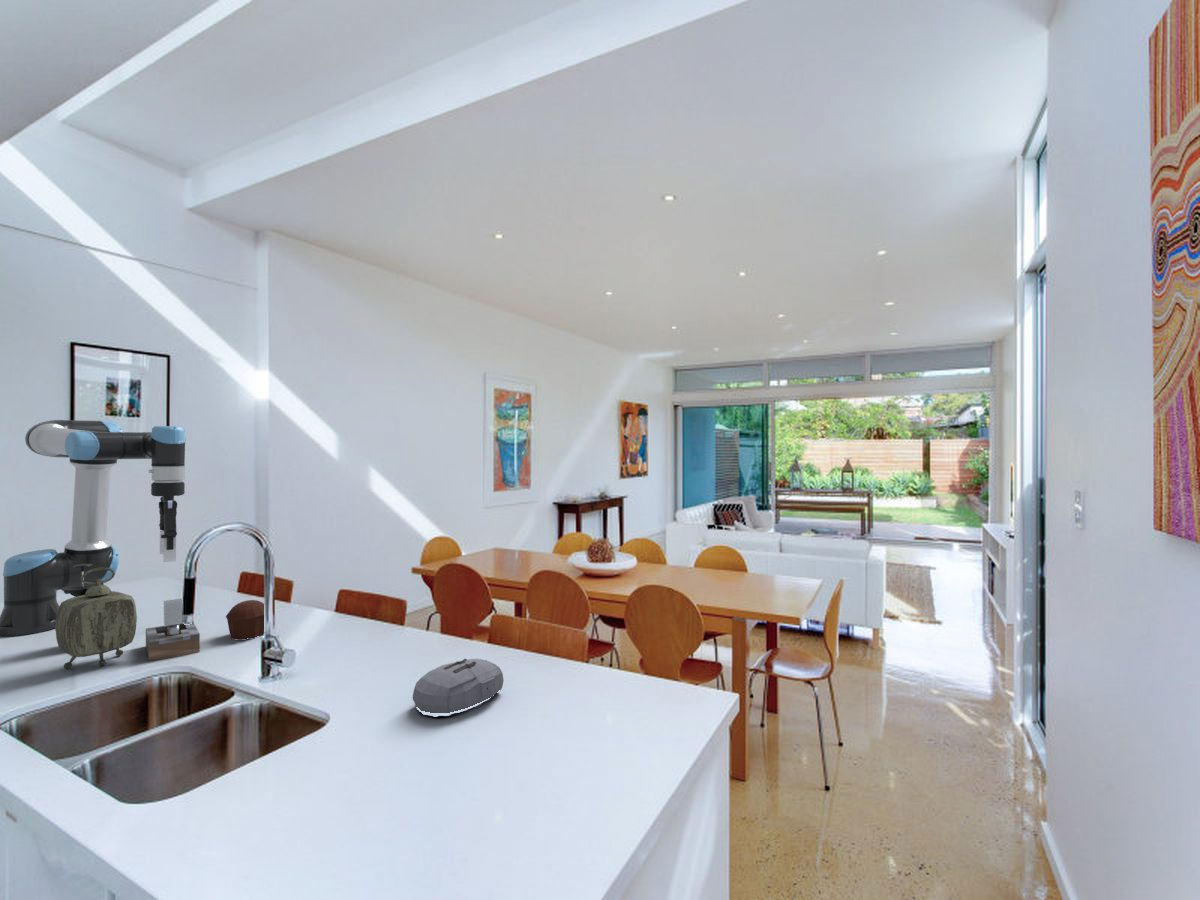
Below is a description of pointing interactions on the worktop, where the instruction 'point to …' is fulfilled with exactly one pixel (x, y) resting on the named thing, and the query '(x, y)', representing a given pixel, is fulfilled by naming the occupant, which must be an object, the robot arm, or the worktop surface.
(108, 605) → the tabletop clock
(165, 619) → the headed peg
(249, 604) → the muffin
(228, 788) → the worktop surface
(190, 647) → the keyhole block
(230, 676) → the worktop surface
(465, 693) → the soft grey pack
